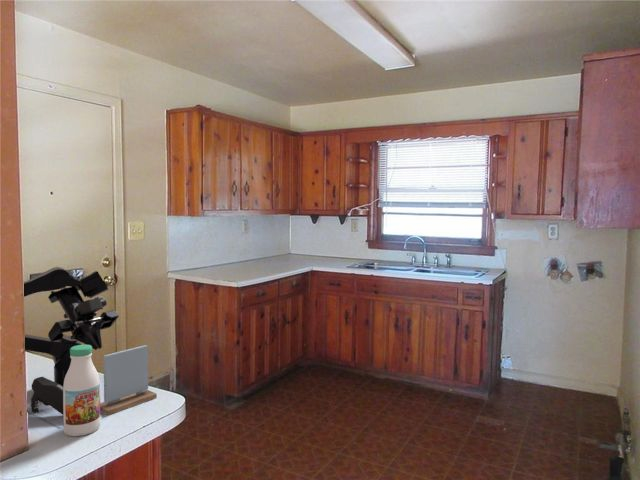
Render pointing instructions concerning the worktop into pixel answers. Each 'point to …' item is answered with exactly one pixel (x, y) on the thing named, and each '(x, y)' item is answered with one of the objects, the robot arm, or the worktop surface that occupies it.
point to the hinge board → (127, 402)
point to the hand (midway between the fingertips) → (98, 348)
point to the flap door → (125, 374)
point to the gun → (47, 394)
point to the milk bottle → (81, 393)
